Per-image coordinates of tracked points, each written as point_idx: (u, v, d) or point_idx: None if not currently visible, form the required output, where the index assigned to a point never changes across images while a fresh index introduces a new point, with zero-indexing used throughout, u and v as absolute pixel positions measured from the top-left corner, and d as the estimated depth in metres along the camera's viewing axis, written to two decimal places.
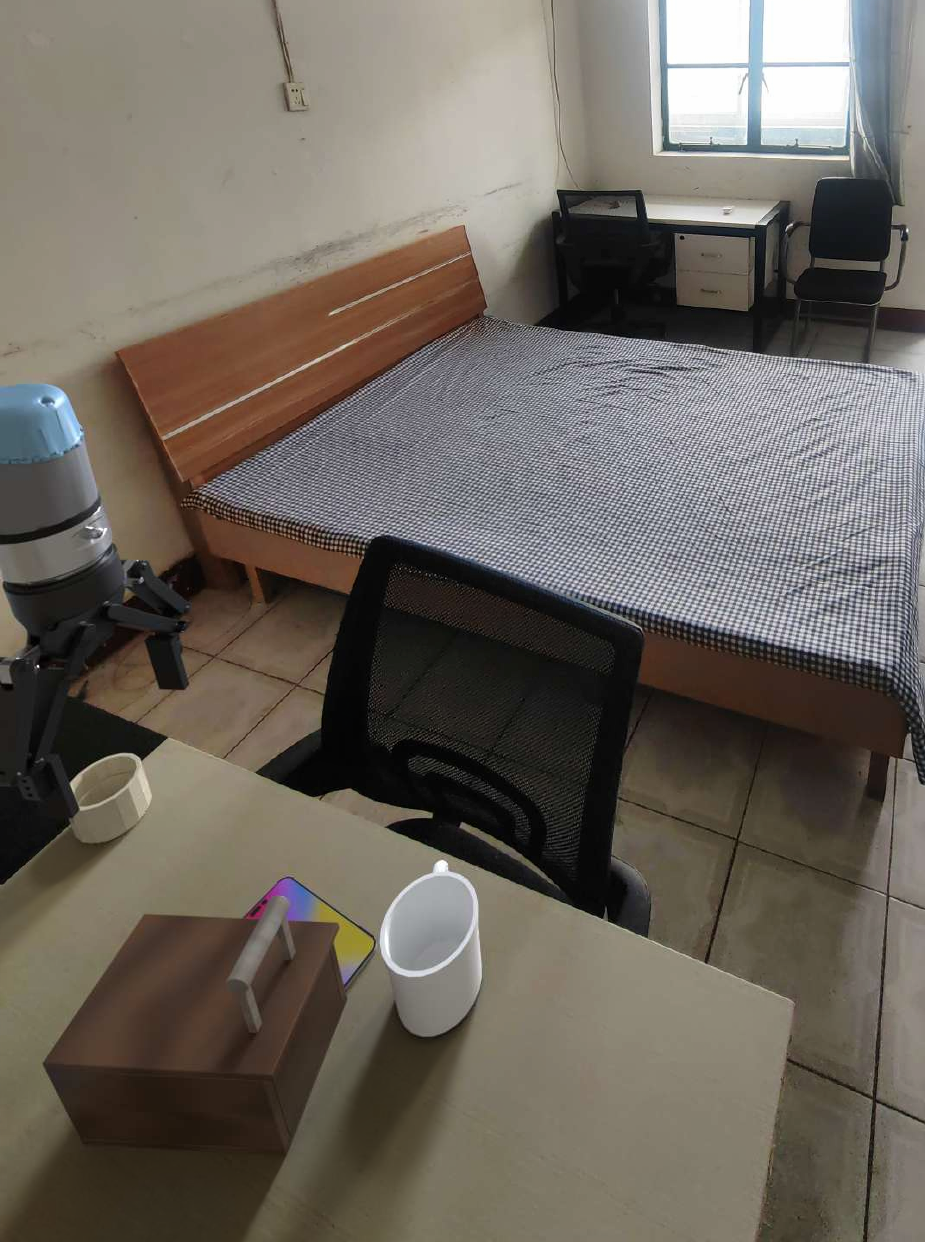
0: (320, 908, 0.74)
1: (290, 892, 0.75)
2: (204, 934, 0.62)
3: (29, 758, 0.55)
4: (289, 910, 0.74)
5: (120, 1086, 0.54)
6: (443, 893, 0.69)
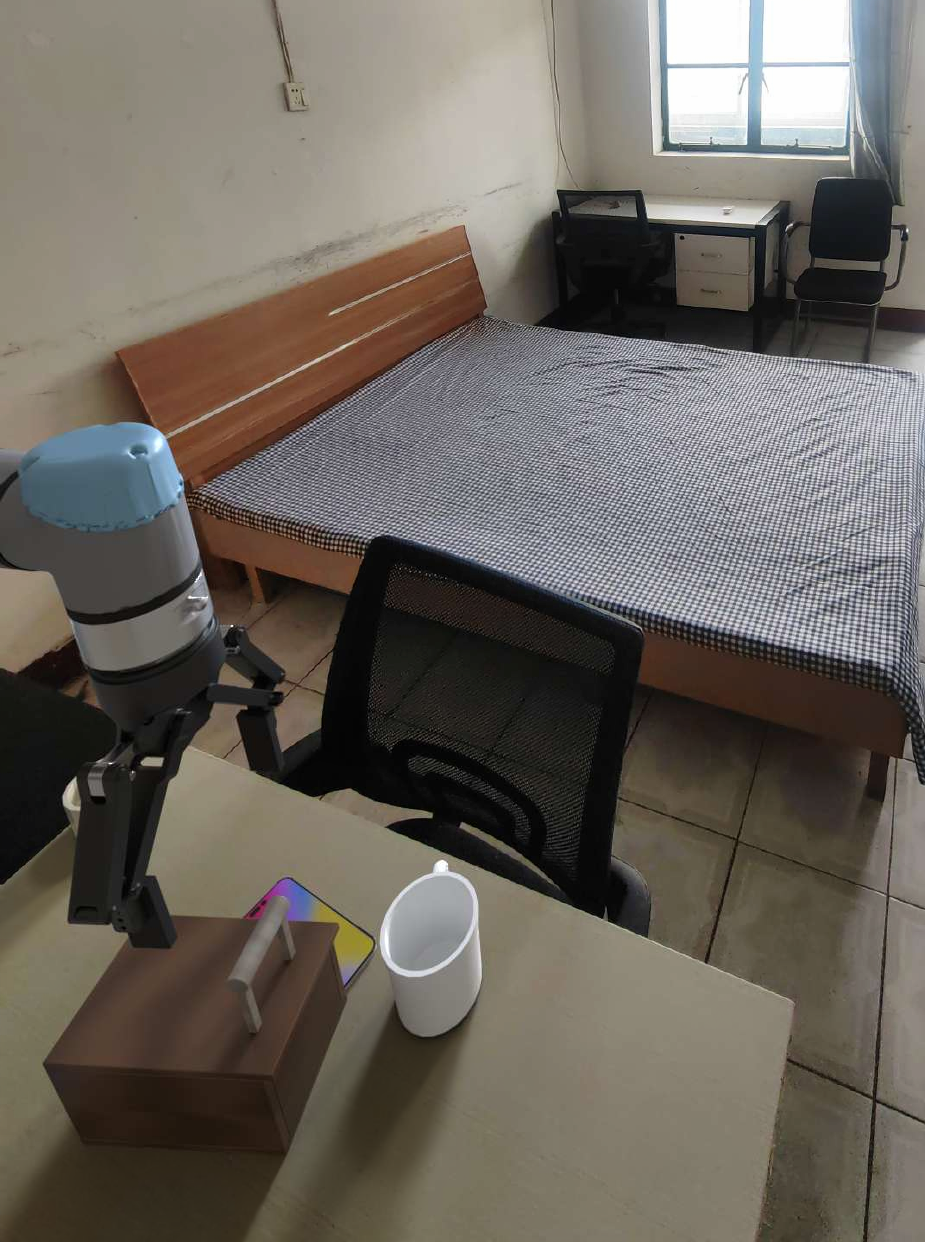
0: (319, 909, 0.74)
1: (289, 893, 0.75)
2: (204, 934, 0.62)
3: (123, 885, 0.45)
4: (288, 911, 0.74)
5: (120, 1086, 0.54)
6: (443, 893, 0.69)
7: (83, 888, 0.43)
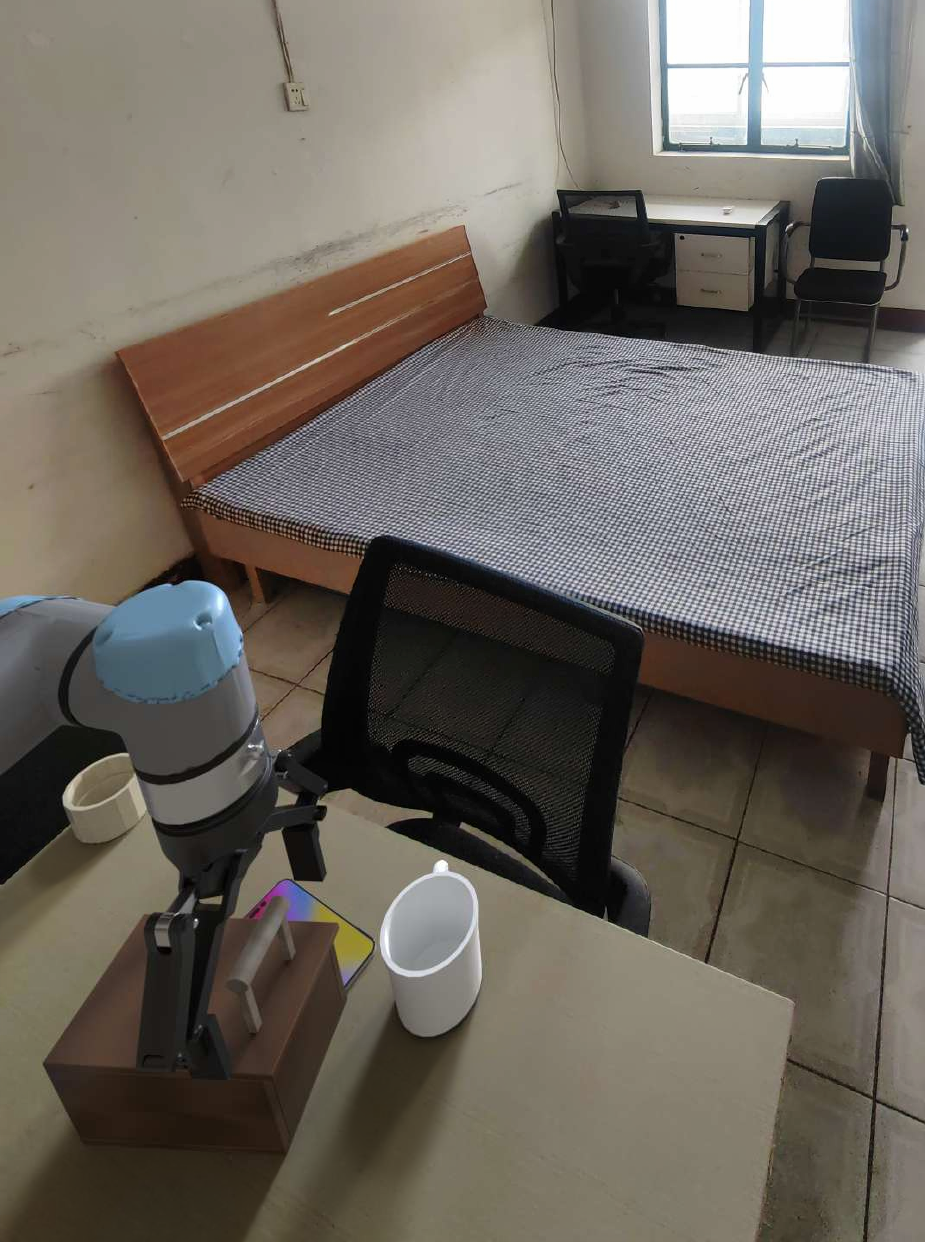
0: (319, 910, 0.74)
1: (289, 894, 0.75)
2: None
3: (186, 1028, 0.47)
4: (288, 912, 0.74)
5: (120, 1086, 0.54)
6: (443, 893, 0.69)
7: (150, 1037, 0.45)
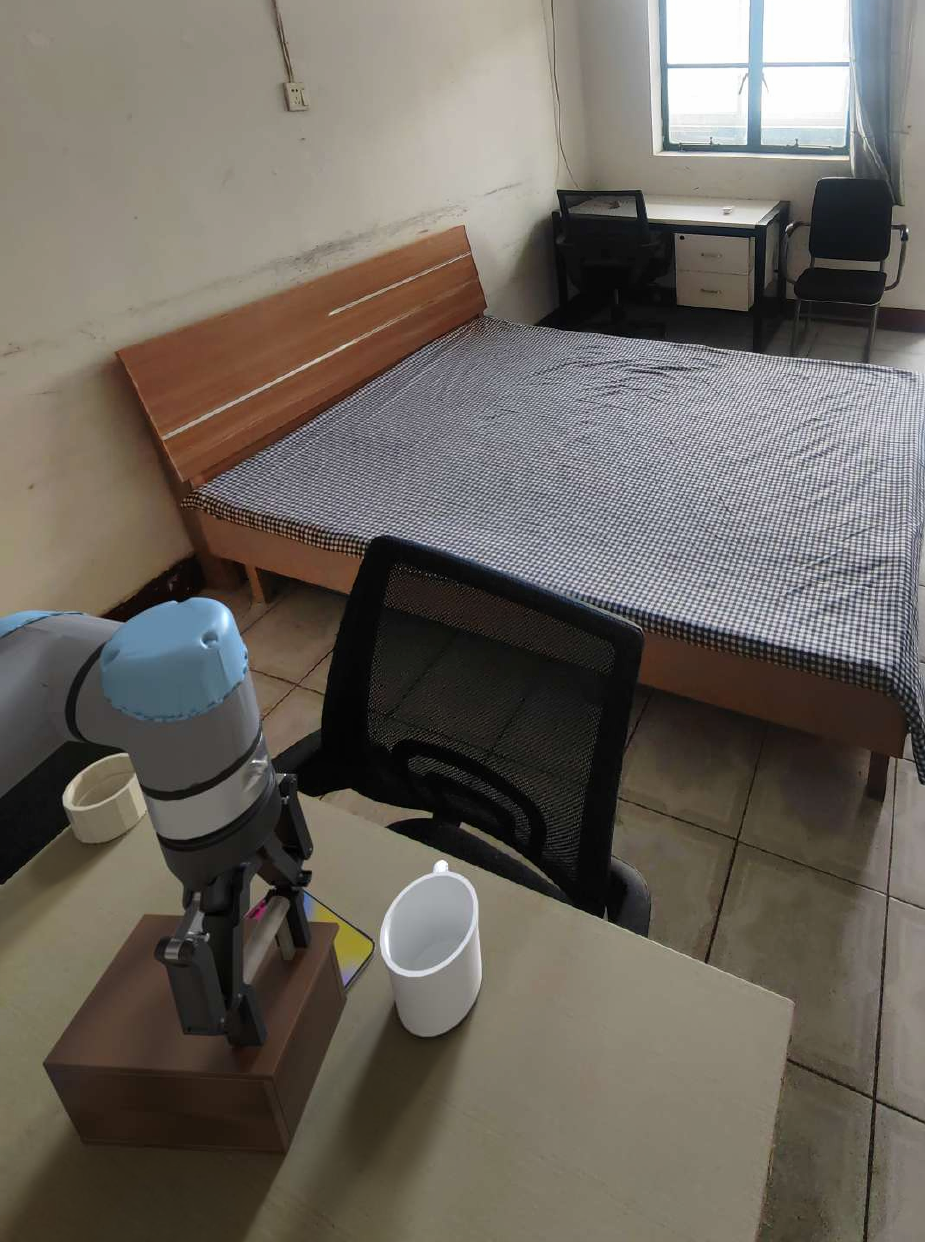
0: (319, 911, 0.74)
1: None
2: None
3: (226, 1001, 0.51)
4: None
5: (120, 1086, 0.54)
6: (443, 893, 0.69)
7: (189, 1016, 0.49)
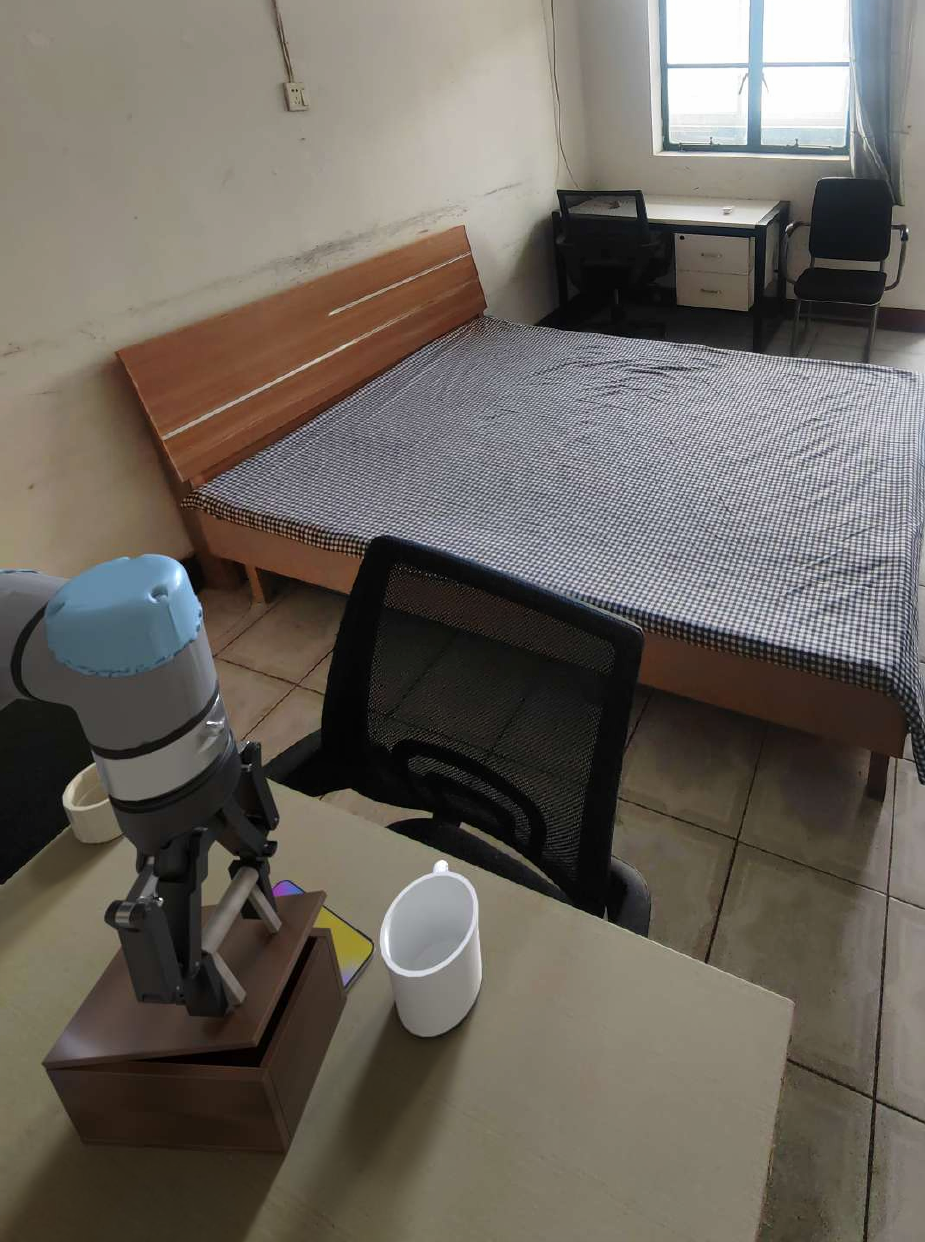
0: None
1: None
2: None
3: (182, 969, 0.50)
4: None
5: (120, 1086, 0.54)
6: (443, 893, 0.69)
7: (143, 983, 0.47)
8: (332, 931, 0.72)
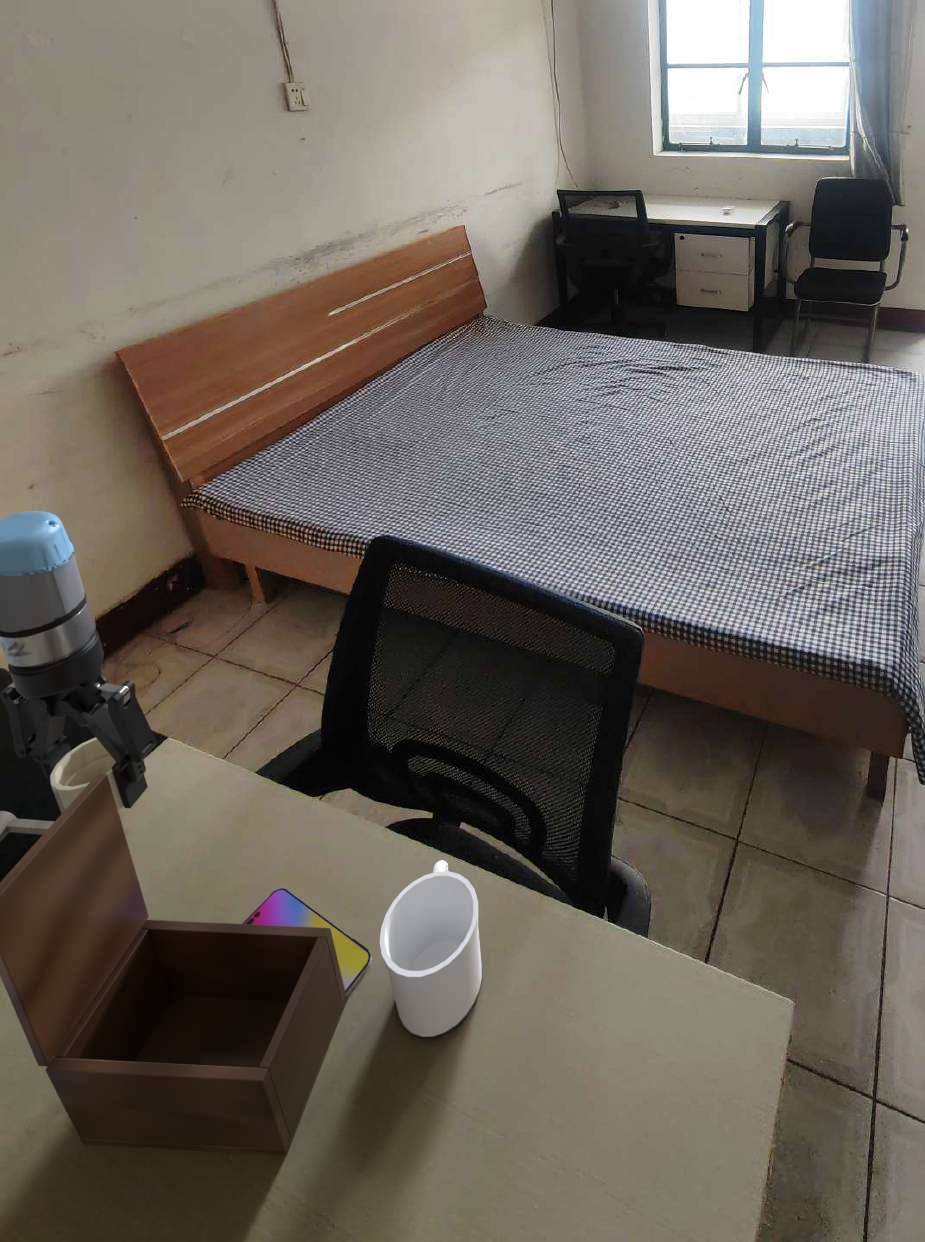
0: (314, 921, 0.73)
1: (283, 904, 0.74)
2: None
3: None
4: (282, 923, 0.73)
5: (120, 1086, 0.54)
6: (443, 893, 0.69)
7: None
8: None
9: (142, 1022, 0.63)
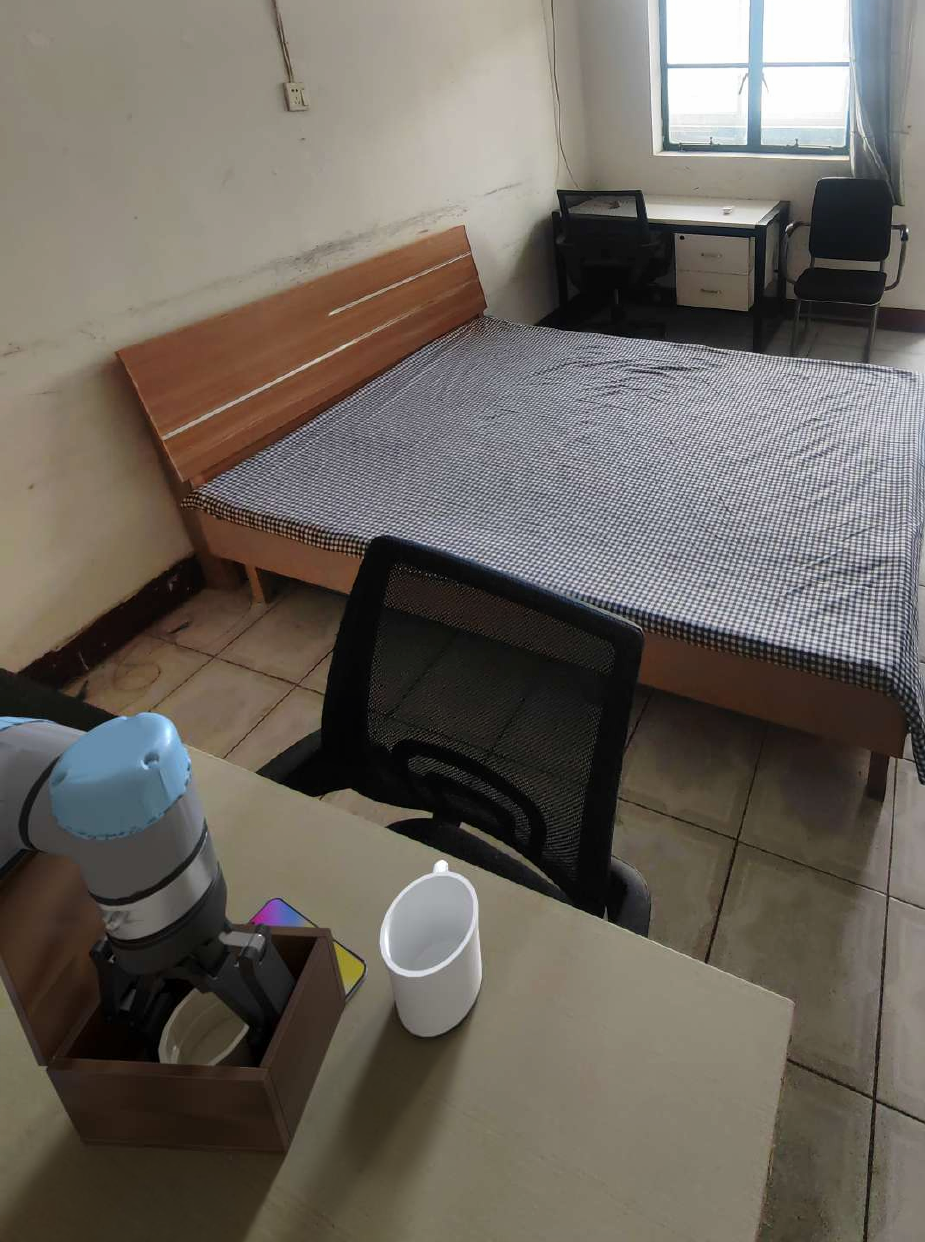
0: None
1: (279, 914, 0.73)
2: None
3: None
4: None
5: (120, 1086, 0.54)
6: (443, 893, 0.69)
7: None
8: None
9: None
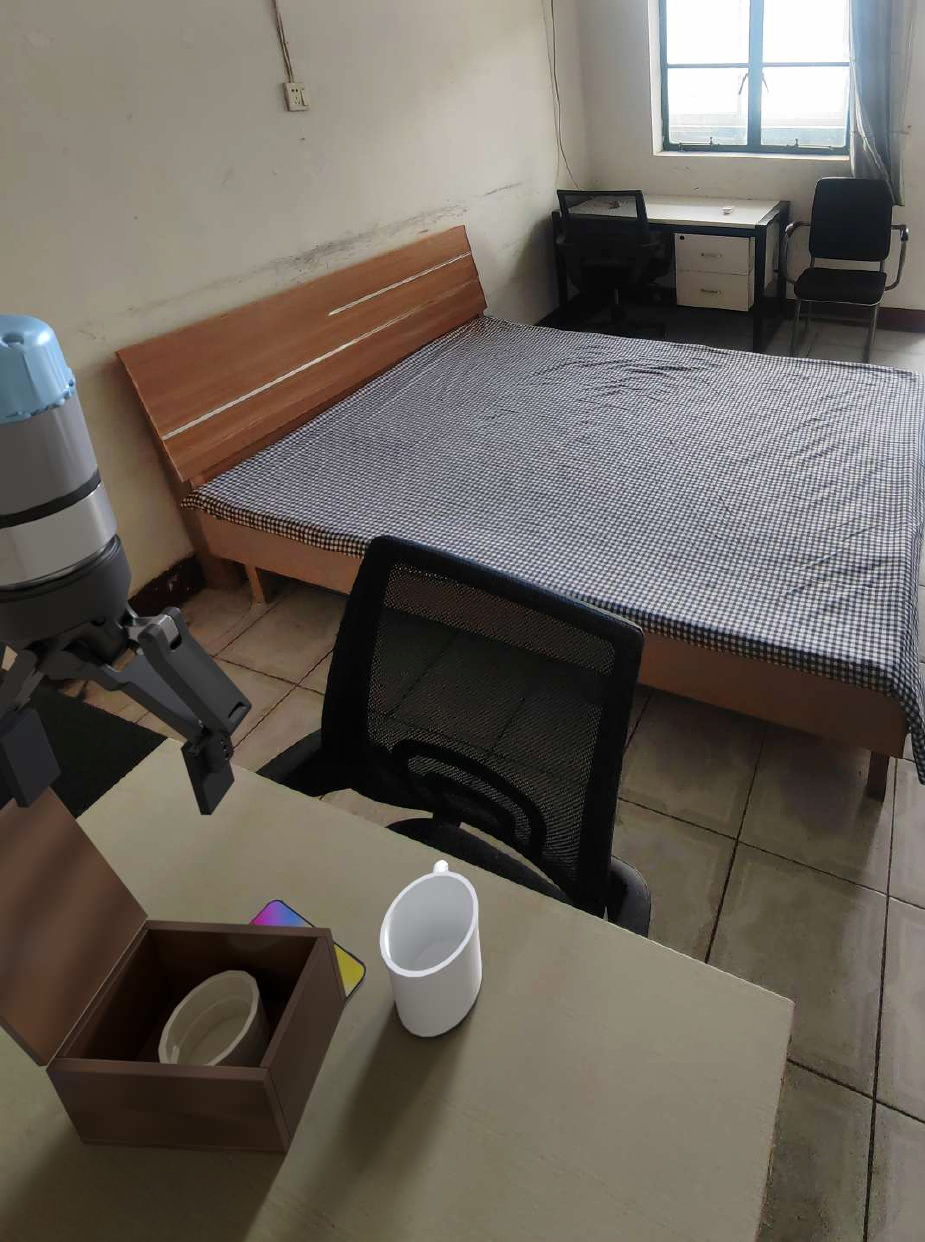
0: None
1: (279, 916, 0.73)
2: None
3: None
4: None
5: (120, 1086, 0.54)
6: (443, 893, 0.69)
7: None
8: None
9: (142, 1022, 0.63)
